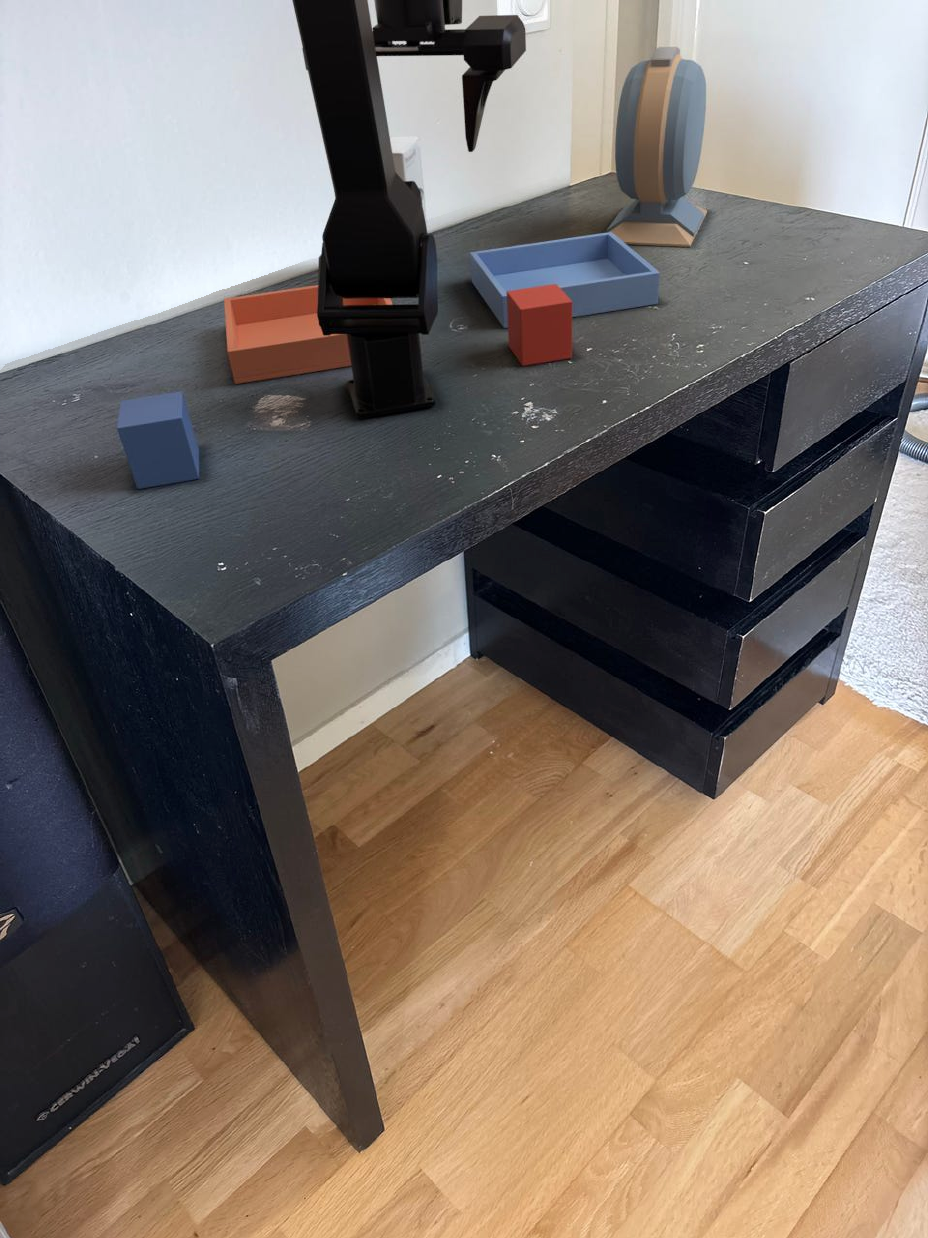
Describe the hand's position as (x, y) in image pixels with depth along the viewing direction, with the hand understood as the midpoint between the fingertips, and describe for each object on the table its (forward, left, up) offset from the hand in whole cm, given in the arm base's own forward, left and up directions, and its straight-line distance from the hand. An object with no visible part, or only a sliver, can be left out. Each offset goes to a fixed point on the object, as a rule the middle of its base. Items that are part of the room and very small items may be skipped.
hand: (424, 149), depth 86 cm
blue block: (-28, +26, -13) cm, 41 cm away
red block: (-18, -6, -13) cm, 23 cm away
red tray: (-8, +13, -13) cm, 21 cm away
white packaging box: (+8, +3, -14) cm, 16 cm away
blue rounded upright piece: (+10, -28, -14) cm, 32 cm away
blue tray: (-5, -12, -13) cm, 18 cm away
